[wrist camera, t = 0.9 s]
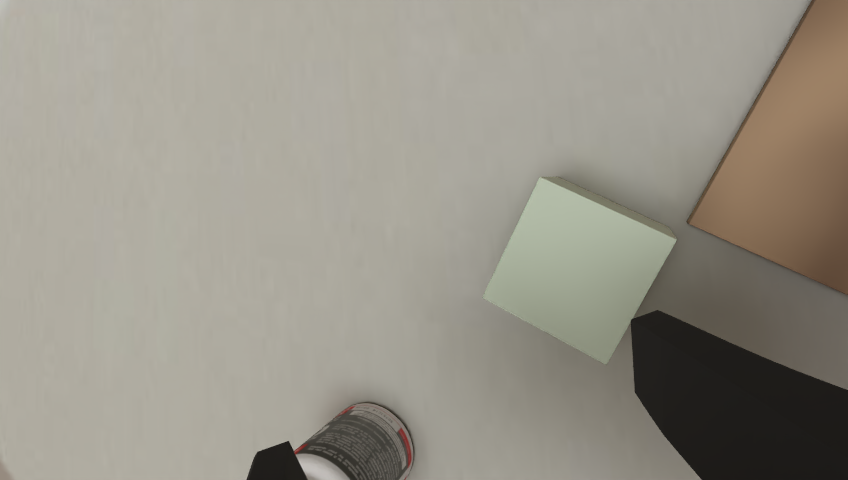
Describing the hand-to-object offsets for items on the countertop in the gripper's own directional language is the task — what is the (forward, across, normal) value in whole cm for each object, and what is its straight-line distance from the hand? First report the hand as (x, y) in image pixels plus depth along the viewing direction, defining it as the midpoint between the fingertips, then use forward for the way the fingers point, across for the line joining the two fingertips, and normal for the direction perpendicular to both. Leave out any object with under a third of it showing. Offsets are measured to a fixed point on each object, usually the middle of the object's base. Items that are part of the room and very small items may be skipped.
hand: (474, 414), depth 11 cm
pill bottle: (+14, +4, +14) cm, 20 cm away
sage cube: (+11, -8, +5) cm, 15 cm away
